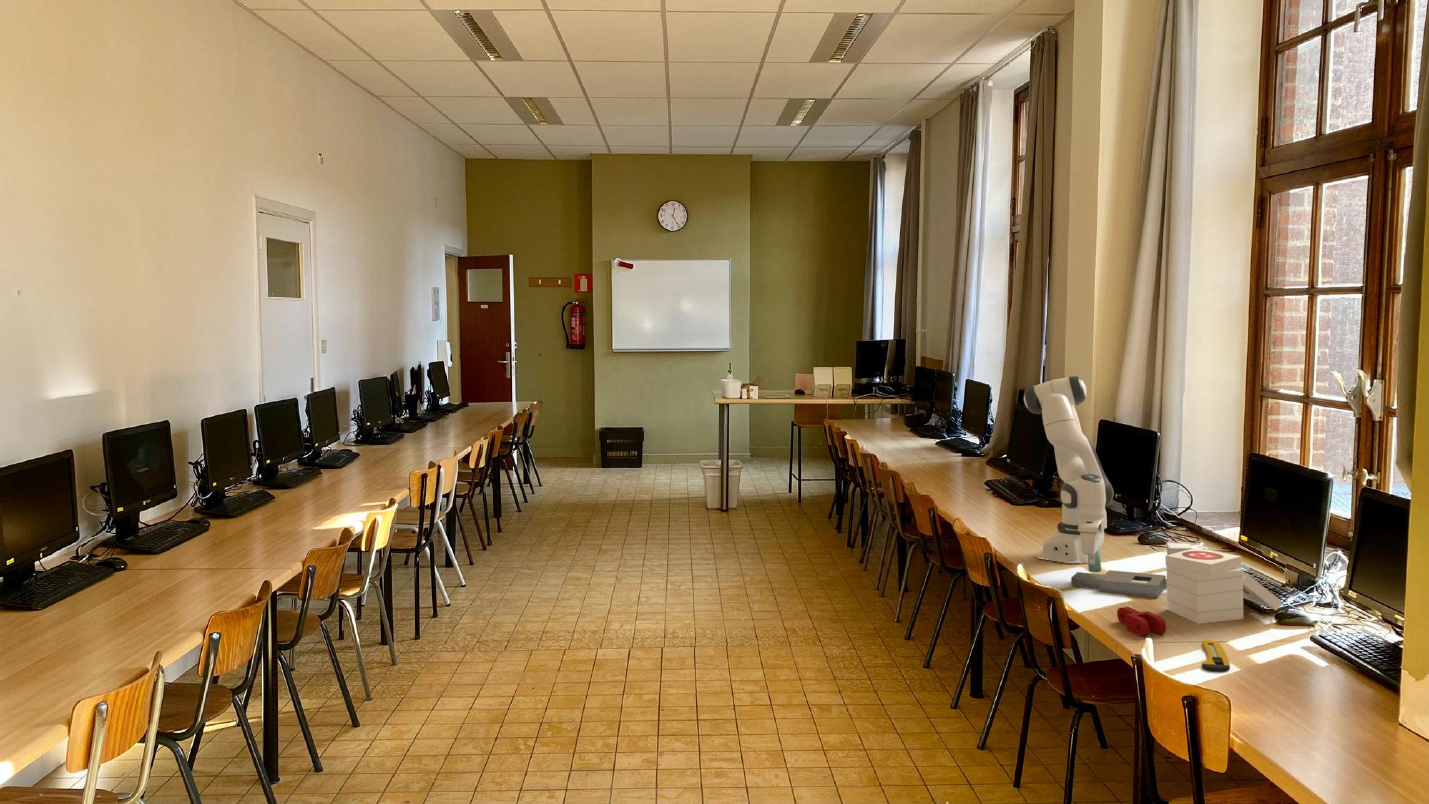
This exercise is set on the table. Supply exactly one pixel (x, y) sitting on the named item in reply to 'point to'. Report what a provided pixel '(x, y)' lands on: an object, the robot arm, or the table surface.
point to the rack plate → (1122, 582)
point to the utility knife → (1215, 657)
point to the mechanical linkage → (1141, 621)
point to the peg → (1097, 565)
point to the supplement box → (1177, 547)
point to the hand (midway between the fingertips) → (1094, 561)
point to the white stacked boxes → (1211, 586)
